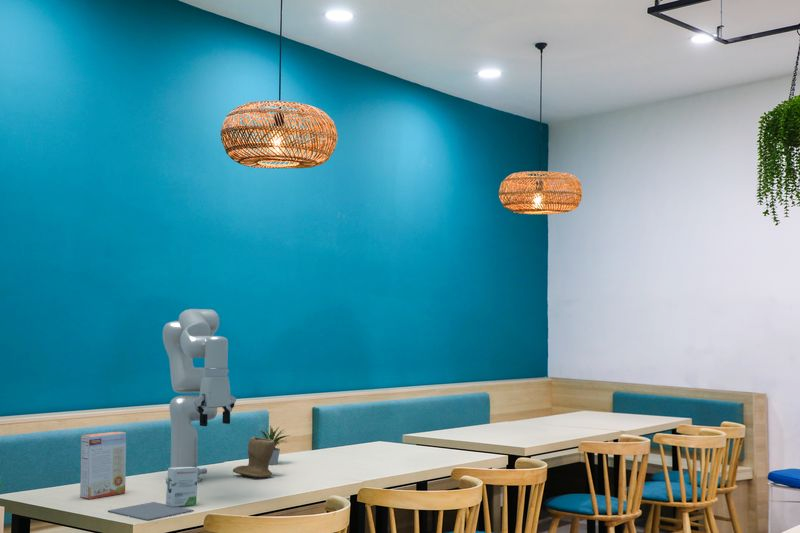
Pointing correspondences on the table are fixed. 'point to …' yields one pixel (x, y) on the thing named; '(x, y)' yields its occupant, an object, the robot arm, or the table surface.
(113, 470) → the cracker box
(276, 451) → the house plant
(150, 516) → the mat
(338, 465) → the table surface
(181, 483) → the ink box
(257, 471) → the brown suede boot shape
